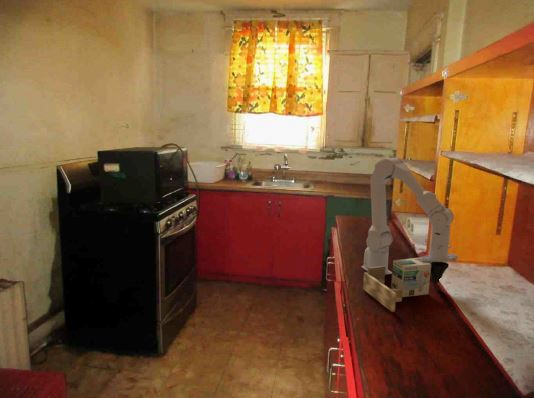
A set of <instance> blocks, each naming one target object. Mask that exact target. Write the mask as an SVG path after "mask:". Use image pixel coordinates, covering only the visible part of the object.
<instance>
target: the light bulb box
mask: <svg viewBox="0 0 534 398" xmlns="http://www.w3.org/2000/svg"><path fill="white" fill-rule="evenodd" d="M418 258H419V257H414V258H404V259H402V258H401V259H394V260H393V262H392V271H391V272H392V274H391V283H390V284H391V285H390V287H391V288H390V289H399V288H401V289H402V290H403V291H402V298H407V297H416V296H423V295H424V296H425V295H429V289H430V279H431V264H430V263H428V262H426V261H425V262H420V261H419V260H418Z"/></svg>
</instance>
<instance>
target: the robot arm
mask: <svg viewBox="0 0 534 398" xmlns="http://www.w3.org/2000/svg"><path fill="white" fill-rule="evenodd" d="M390 179H395V180H399V181H401V182H403V184H404V185H406V187H408V189H409V190H410V191H411V192H412V193H413V194H414V195H415V196H416V203H417V205H419V206H420V207H421V209H422V210H423V211H424V212H425V214H426V215H427V216H428V217H429V223H430V224H431V231H430V232H431V233H430V244H429V254H426V255H424V256H420V257H417V258H418V260H419V261H420V262H425V261H426V262H428V263H430V264H431V272H430V277H431V282H433V283H434V284H439V283H440V282H439V279H440V278H441V279H442V277H443V275H444V273H445V272H446V271H447V269H448V268H449V267H450V266H449V262H452V261H453V262H458V255H456V254H455V253H449V247H450V239H451V238H450V236H451V224H452V223H453V222H454V220H455V216H454V213H453V212H452V210H451V209H450V208H446V205H444V204H442V202H441V201H440V200H439V198H437V194H436V193H435V192H432V191H429V190H425V188H424V187H423V186H422V185H421V183H420V182H419V181H418V179H417V178H416V177H415V175H414V174H413V172H412V171H411V169H410V168H409V166H408V165H407V164H406V163H405V162H404V161H403V159H401V158H400V157H391V158H382V159H379V161H377V162H376V163H375V164H374V170H373V172H372V173H371V176H370V181H369V183H370V206H371V208H370V209H371V210H370V211H371V226H370V228H369V229H368V235H367V237H366V246H367V247H366V248H365V250H364V252H363V253H364V255H363V256H364V257H363V265H362V266H361V268H362V269H363V270H365V271H366V272H367V271H368V267H376V266H385V267H386V268H385V276H386V275H392V271H391V270H389V268H388V267H389V251H390V246H391V245H392V242H393V241H394V239H393V236H392V233H391V228H390V226H388V220H387V191H386V190H387V189H386V185H387V183H388V182H389V180H390Z"/></svg>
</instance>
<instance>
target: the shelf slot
mask: <svg viewBox="0 0 534 398" xmlns="http://www.w3.org/2000/svg"><path fill="white" fill-rule="evenodd" d="M385 268H386V267H385V266H376V267H368V271H366V272H363V282H362V283H363V285H362V289H363V291H365V292H366V293H368V294H369V295H370V296H371V297H372V298H373V299H375V300H376V301H377V302H379V303H380V304H381V305H382V306H383V307H385V308H386V309H387V310H389V311H390V312H391V313H394V312H395V311H396V303H398V302H402V301H403V297H402V291H403V290H402V289H401V288H399V289H391V288H390V287H388V286H387V285H385V283H386V282H385V281H386V278H385V277H386V275H385Z"/></svg>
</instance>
